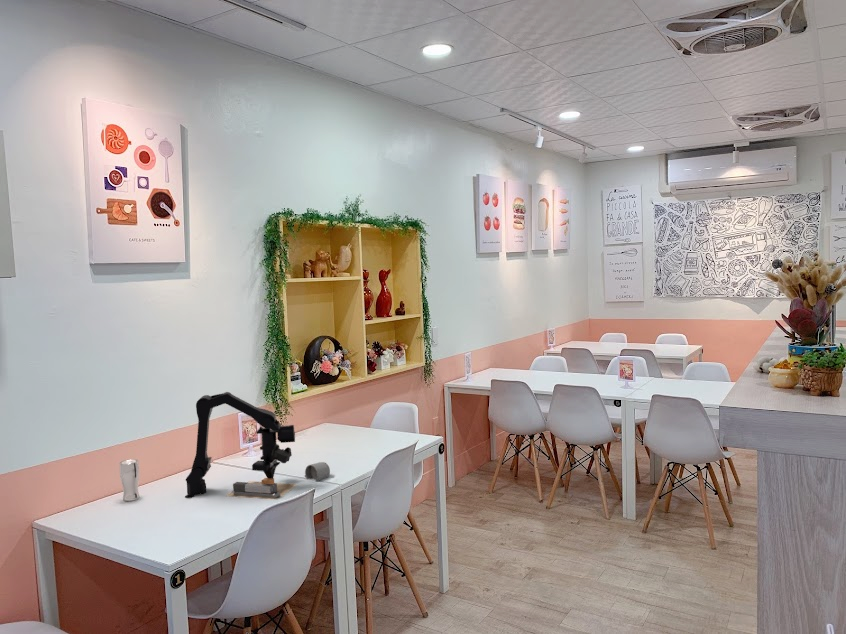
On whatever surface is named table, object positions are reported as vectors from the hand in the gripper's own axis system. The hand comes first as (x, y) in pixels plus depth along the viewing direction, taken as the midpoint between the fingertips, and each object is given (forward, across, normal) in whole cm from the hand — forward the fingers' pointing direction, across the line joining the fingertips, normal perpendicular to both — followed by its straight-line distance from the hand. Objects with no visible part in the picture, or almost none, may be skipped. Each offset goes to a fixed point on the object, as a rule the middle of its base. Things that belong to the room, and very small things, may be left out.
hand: (270, 481), depth 262 cm
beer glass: (+4, -19, +51) cm, 55 cm away
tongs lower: (+2, -10, +1) cm, 10 cm away
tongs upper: (+1, -10, +2) cm, 10 cm away
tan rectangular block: (+2, -3, 0) cm, 4 cm away
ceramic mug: (+4, +15, -13) cm, 20 cm away
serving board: (+4, -4, +2) cm, 5 cm away
